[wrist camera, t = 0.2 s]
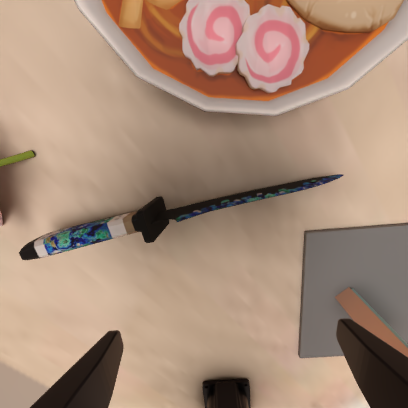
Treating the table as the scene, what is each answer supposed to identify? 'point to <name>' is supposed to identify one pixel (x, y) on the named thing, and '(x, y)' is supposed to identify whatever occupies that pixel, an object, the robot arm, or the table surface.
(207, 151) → the table surface
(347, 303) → the tile
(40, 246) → the knife
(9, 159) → the water lily
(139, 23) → the ramen bowl
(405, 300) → the mat
